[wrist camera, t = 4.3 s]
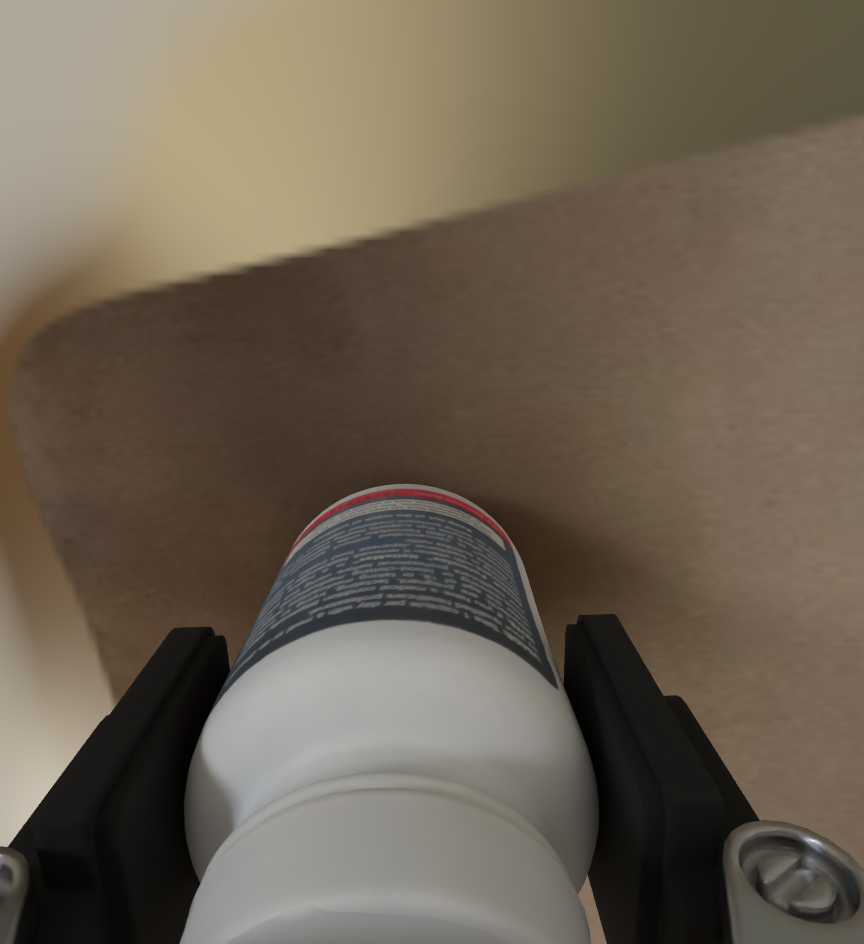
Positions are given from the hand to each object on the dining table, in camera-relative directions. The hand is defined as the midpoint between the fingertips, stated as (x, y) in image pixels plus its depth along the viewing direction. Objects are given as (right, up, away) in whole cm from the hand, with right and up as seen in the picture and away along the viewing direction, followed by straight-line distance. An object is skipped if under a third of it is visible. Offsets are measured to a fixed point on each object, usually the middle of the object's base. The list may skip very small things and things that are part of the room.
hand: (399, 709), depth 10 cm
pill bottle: (0, +1, +4) cm, 4 cm away
